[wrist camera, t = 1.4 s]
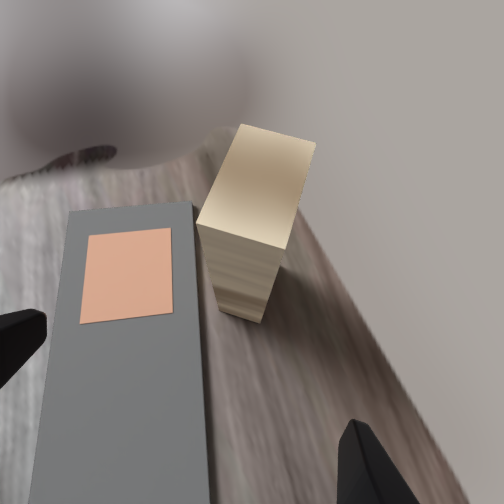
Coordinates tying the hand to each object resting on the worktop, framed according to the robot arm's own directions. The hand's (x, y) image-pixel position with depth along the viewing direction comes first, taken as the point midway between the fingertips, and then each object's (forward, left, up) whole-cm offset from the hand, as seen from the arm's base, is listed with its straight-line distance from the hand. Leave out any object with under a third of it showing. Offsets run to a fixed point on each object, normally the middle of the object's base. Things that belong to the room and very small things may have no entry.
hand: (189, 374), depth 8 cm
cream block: (+6, -3, -13) cm, 15 cm away
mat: (+3, +6, -13) cm, 15 cm away
